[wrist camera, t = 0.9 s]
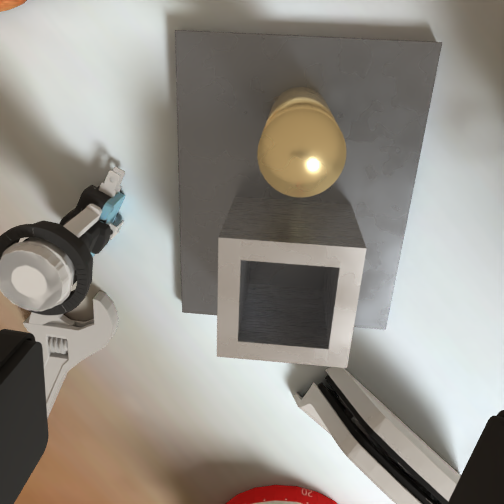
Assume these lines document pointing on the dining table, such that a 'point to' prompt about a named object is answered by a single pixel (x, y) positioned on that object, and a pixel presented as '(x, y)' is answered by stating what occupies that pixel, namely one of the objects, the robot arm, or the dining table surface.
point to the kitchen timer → (280, 496)
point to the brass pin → (301, 144)
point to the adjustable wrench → (71, 341)
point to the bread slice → (10, 4)
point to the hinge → (379, 441)
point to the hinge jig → (295, 208)
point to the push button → (60, 251)
